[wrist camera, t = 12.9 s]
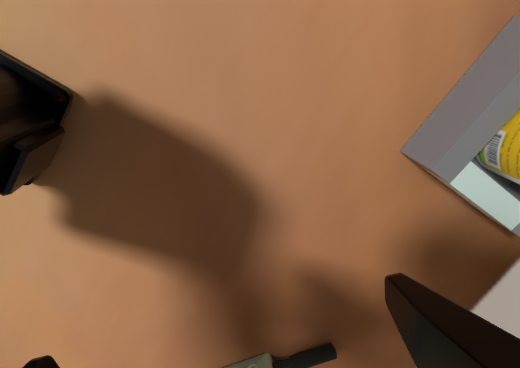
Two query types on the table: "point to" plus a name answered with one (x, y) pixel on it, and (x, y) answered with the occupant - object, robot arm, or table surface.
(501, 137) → the supplement bottle
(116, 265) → the table surface
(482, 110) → the dock
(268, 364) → the handheld radio
